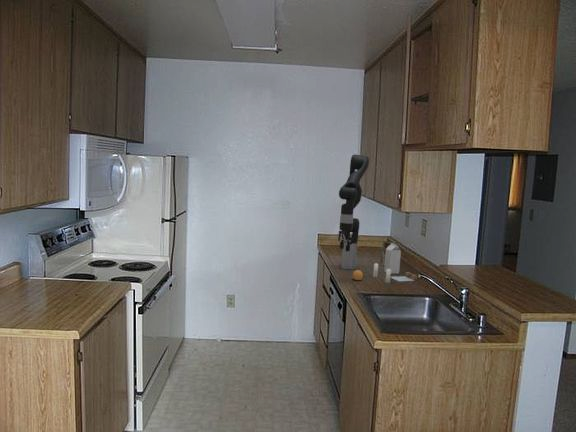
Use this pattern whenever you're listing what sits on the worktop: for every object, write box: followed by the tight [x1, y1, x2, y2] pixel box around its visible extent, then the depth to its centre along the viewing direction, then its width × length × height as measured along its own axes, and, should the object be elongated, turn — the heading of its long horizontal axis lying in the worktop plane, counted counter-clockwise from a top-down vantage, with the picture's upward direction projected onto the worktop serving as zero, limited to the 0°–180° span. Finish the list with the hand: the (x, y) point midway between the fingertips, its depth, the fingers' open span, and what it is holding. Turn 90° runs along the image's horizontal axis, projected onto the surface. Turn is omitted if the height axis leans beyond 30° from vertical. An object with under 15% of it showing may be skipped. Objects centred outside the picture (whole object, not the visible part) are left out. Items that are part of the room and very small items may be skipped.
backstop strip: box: [404, 271, 418, 282], centre depth 297 cm, size 10×2×3 cm, turn 18°
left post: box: [372, 262, 379, 278], centre depth 297 cm, size 3×3×8 cm
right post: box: [385, 269, 392, 284], centre depth 283 cm, size 3×3×8 cm
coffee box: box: [380, 241, 398, 267], centre depth 333 cm, size 9×6×16 cm
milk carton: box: [383, 242, 402, 275], centre depth 311 cm, size 7×7×19 cm
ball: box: [352, 269, 364, 281], centre depth 285 cm, size 6×6×6 cm
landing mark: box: [390, 275, 415, 282], centre depth 295 cm, size 11×11×1 cm
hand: (344, 250), depth 280 cm, fingers open, 7 cm apart
